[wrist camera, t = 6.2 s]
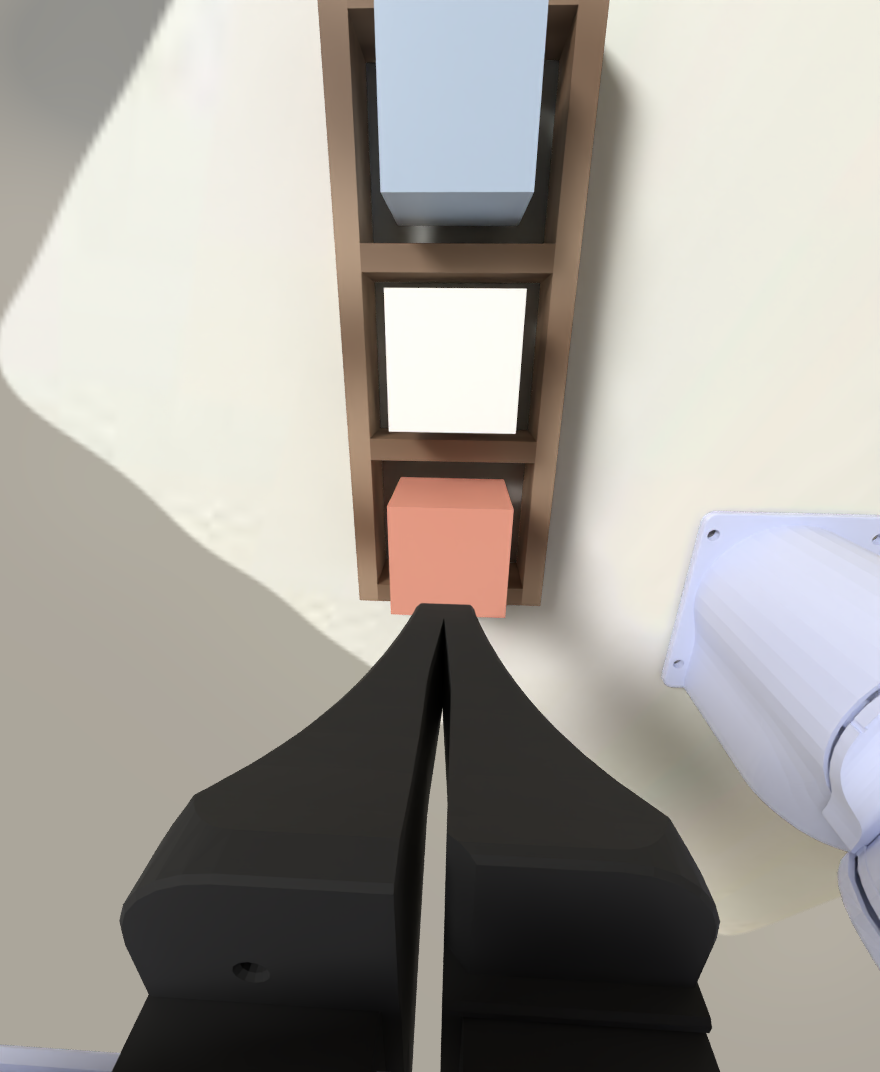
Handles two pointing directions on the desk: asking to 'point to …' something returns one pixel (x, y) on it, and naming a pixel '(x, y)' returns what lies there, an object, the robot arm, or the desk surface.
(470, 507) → the key terracotta
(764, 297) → the desk surface
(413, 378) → the key white
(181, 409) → the desk surface
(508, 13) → the key blue
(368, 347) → the frame
